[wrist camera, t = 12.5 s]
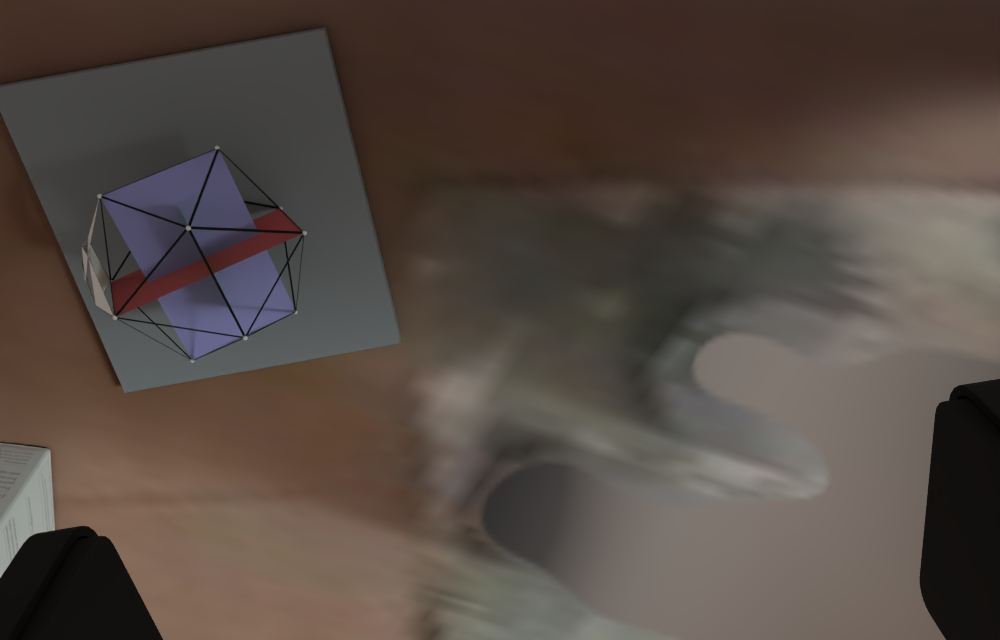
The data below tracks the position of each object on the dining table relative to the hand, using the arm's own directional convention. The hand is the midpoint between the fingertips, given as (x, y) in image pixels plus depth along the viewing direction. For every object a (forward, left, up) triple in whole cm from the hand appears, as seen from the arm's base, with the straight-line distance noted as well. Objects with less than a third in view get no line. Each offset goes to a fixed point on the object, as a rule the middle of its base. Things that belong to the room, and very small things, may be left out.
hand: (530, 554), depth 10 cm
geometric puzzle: (+10, +3, -24) cm, 26 cm away
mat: (+10, +4, -25) cm, 27 cm away
